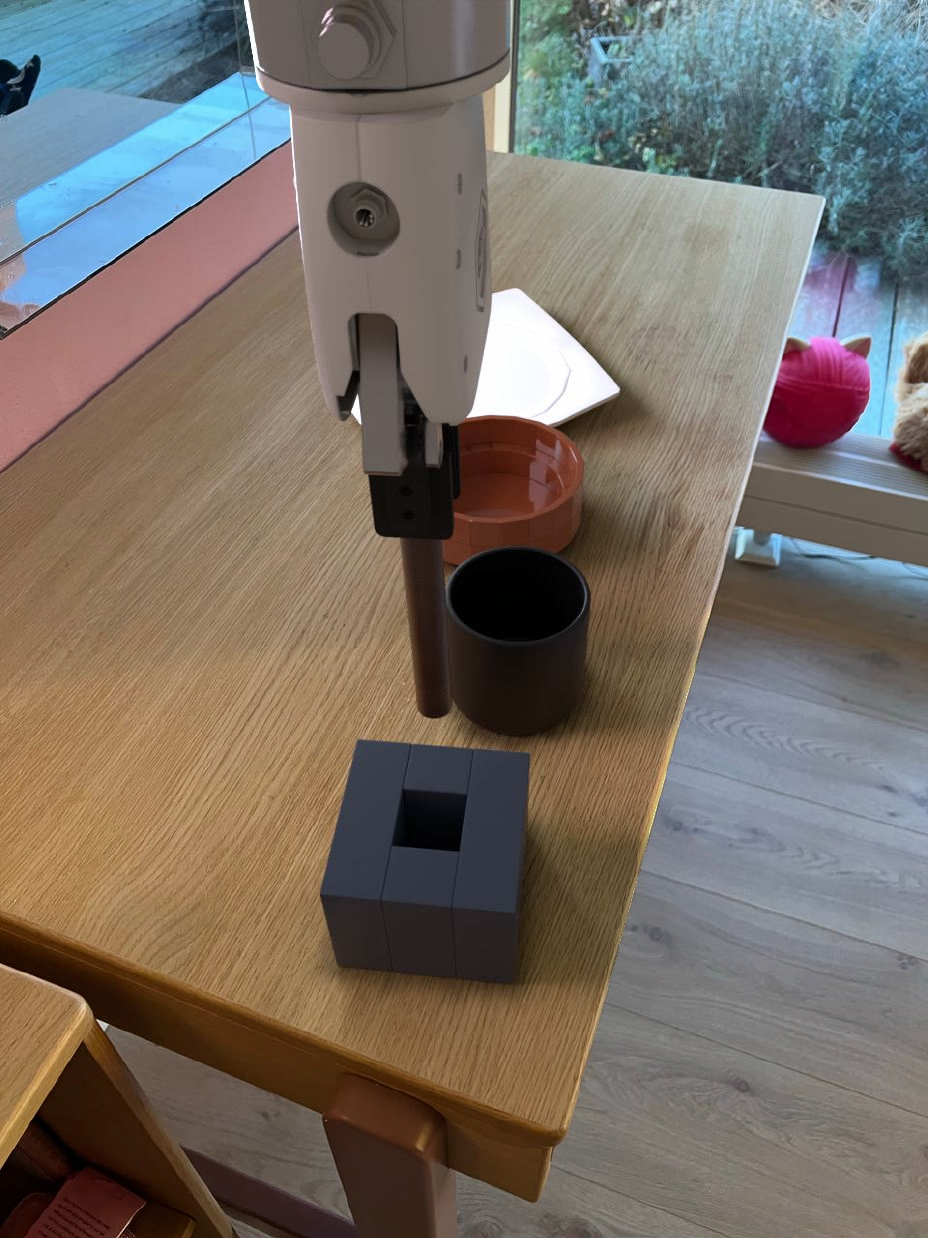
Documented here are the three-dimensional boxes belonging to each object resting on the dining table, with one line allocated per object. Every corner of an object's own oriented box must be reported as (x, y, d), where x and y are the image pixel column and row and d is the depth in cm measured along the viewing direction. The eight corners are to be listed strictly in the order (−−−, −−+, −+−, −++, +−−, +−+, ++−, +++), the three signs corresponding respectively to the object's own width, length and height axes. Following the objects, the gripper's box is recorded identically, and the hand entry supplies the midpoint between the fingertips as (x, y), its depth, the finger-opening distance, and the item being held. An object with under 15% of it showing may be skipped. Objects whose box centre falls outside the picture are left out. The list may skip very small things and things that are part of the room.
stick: (454, 693, 51) (436, 387, 38) (450, 720, 50) (430, 414, 37) (419, 690, 51) (390, 385, 39) (414, 718, 50) (382, 412, 37)
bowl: (583, 471, 88) (586, 418, 84) (576, 581, 78) (580, 527, 74) (423, 463, 89) (419, 411, 86) (397, 570, 80) (391, 516, 76)
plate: (522, 303, 109) (522, 280, 107) (636, 418, 93) (639, 394, 91) (307, 354, 103) (303, 331, 101) (390, 488, 87) (388, 463, 85)
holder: (527, 830, 62) (530, 752, 57) (514, 985, 55) (515, 913, 50) (369, 816, 63) (356, 738, 58) (336, 966, 56) (318, 894, 51)
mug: (597, 623, 75) (606, 530, 68) (571, 749, 67) (578, 657, 60) (474, 604, 77) (472, 512, 70) (434, 724, 68) (427, 633, 62)
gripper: (482, 114, 23) (491, 659, 36) (528, -53, 34) (522, 410, 47) (166, 112, 24) (287, 646, 37) (311, -51, 35) (365, 405, 48)
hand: (419, 511), depth 42 cm, fingers closed on stick, 1 cm apart
